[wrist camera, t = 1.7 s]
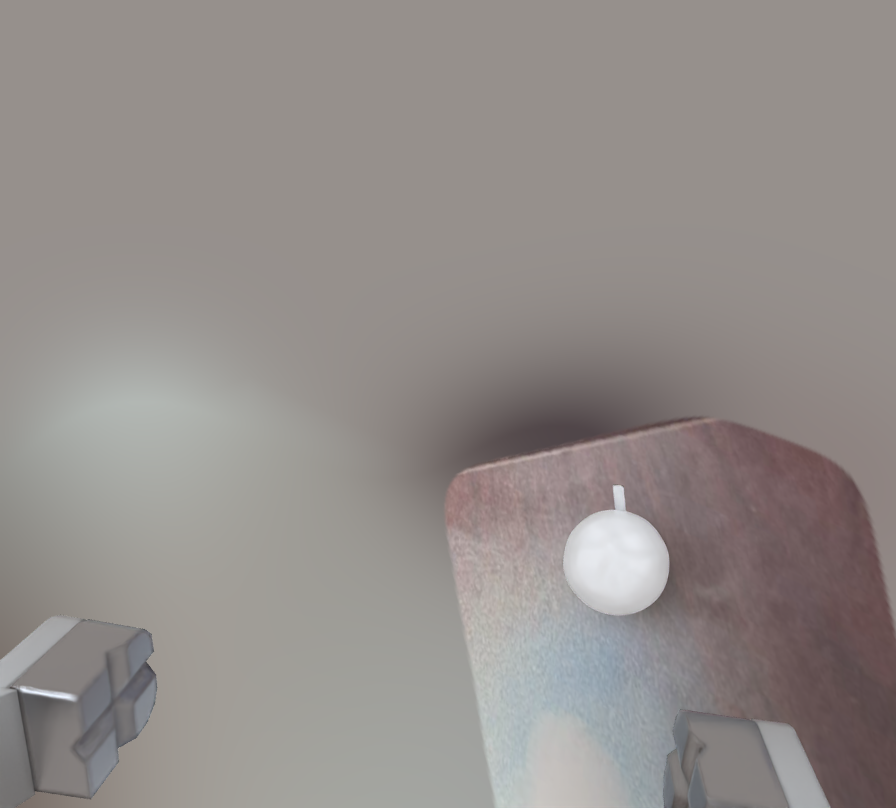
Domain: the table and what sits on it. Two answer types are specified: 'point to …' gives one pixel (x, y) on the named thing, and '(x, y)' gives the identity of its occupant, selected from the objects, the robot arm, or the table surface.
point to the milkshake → (616, 560)
